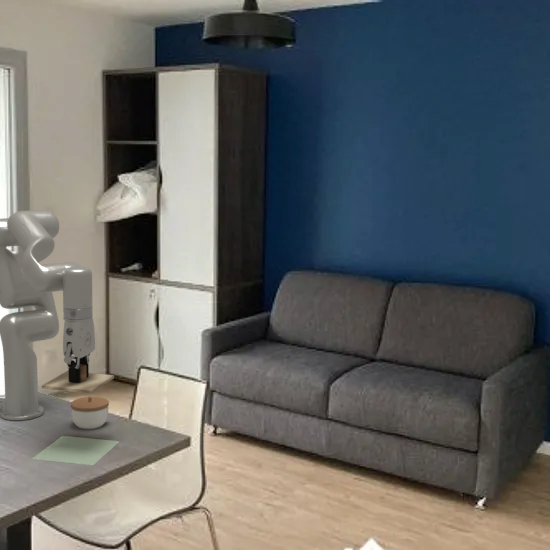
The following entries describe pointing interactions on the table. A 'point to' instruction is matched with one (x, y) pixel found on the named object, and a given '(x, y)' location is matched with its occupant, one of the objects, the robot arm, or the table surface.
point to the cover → (84, 386)
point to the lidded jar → (89, 412)
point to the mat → (76, 450)
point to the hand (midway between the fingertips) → (78, 379)
